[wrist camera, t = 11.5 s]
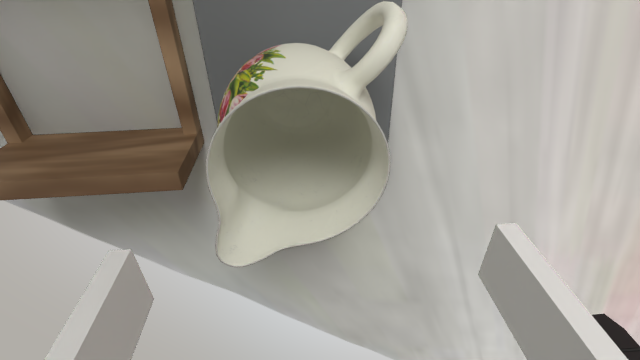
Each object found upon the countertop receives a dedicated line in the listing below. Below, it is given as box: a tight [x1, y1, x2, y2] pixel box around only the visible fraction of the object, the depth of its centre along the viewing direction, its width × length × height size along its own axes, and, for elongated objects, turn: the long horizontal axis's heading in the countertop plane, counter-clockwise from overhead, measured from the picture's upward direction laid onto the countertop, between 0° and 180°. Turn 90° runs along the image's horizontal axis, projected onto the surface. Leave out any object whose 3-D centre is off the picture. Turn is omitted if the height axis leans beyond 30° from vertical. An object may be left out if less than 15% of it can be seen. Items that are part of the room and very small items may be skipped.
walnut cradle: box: [0, 0, 204, 200], centre depth 23 cm, size 24×16×8 cm
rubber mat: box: [193, 0, 402, 143], centre depth 30 cm, size 24×16×1 cm, turn 1°
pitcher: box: [206, 1, 407, 267], centre depth 24 cm, size 11×18×14 cm, turn 142°
